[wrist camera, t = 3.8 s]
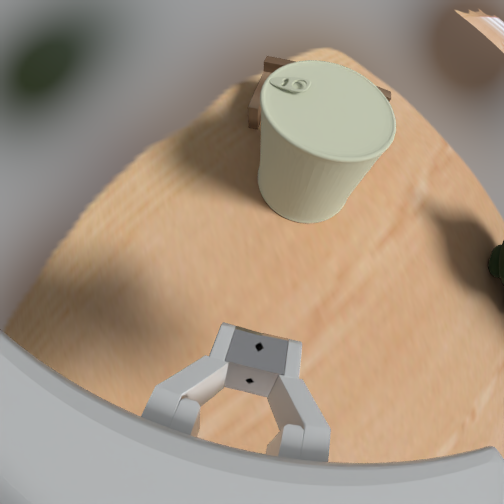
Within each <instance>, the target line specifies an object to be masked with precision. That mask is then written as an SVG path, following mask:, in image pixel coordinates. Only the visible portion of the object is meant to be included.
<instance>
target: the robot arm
mask: <svg viewBox="0 0 504 504" xmlns="http://www.w3.org/2000/svg"><path fill="white" fill-rule="evenodd" d="M301 352H302V342H300V341H295V340H291V339H287V338H283V337H278V336H274V335H269V334H265V333H259V332H256V331H252V330H249V329H245V328H242V327H238V326H235V325H231V324H228V323H224V322H223V323H222V325H221V326H220V329H219V332H218V334H217V337H216V339H215V342H214V345H213V347H212V350H211V353H210V355H209V356H206V355H205V356H203V357H202V358H200V359H199V360H197V361H196V362H194V363H192V364H191V365H189V366H188V367H186V368H184V369H183V370H181V371H180V372H178V373H176V374H175V375H173V376H171V377H170V378H168V379H166V380H165V381H163V382H161V383H160V384H158V385H156V386H155V388H154V390H153V393H152V395H151V397H150V399H149V401H148V403H147V405H146V407H145V409H144V411H143V413H142V416H141V417H140V416H138V415H136V414H134V413H131V412H129V411H127V410H125V409H123V408H121V407H118V406H116V405H114V404H112V403H110V402H108V401H106V400H104V399H102V398H101V397H99V396H97V395H95V394H93V393H91V392H89V391H88V390H86V389H84V388H82V387H81V386H79V385H77V384H76V383H74V382H72V381H71V380H69V379H67V378H66V377H64V376H63V375H61V374H59V373H58V372H56V371H55V370H53V369H52V368H50V367H49V366H47V365H46V364H44V363H43V362H42V361H40V360H39V359H37V358H36V357H35V356H33V355H32V354H31V353H29V352H28V351H27V350H25V349H24V348H23V347H21V346H20V345H19V344H17V343H16V342H15V341H14V340H13V339H11V338H10V337H9V336H8V335H6V334H5V333H4V332H3V331H2V330H1V329H0V504H504V459H503V457H502V456H501V454H500V453H499V452H498V450H497V449H496V448H495V447H493V446H488V447H484V448H480V449H476V450H472V451H468V452H463V453H459V454H454V455H448V456H443V457H436V458H430V459H422V460H413V461H402V462H387V463H338V462H328V456H329V445H330V432H331V429H330V427H329V425H328V423H327V422H326V420H325V418H324V416H323V415H322V413H321V411H320V409H319V408H318V406H317V404H316V402H315V401H314V399H313V397H312V395H311V393H310V392H309V390H308V388H307V386H306V385H305V383H304V381H303V379H299V372H300V363H301ZM224 387H227V388H231V389H236V390H240V391H244V392H248V393H252V394H256V395H260V396H264V397H268V398H267V399H268V402H269V404H270V407H271V410H272V412H273V415H274V417H275V420H276V422H277V425H278V428H279V430H280V432H279V433H278V434H277V435H276V436H275V437H274V438H273V440H272V441H271V442H270V443H269V444H268V445H267V450H266V454H262V453H256V452H251V451H247V450H242V449H238V448H234V447H229V446H226V445H222V444H218V443H214V442H211V441H207V440H204V439H201V438H197V435H198V432H199V429H200V407H201V406H202V405H203V404H205V403H206V402H207V401H208V400H210V399H211V398H212V397H213V396H214V395H216V394H217V393H218V392H219V391H221V390H222V389H223V388H224Z"/></svg>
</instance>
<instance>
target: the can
mask: <svg viewBox="0 0 504 504" xmlns="http://www.w3.org/2000/svg"><path fill="white" fill-rule="evenodd" d="M260 105H261V150H260V166H259V169H258V185H259V189H260V192H261V194H262V196H263V198H264V200H265V201H266V203H267V204H268V205H269V206H270V207H271V208H272V209H273V210H274V211H275V212H276V213H278V214H279V215H281V216H283V217H284V218H287V219H289V220H292V221H295V222H299V223H317V222H322V221H325V220H327V219H329V218H331V217H333V216H334V215H336V214H337V213H338V212H339V211H340V210H341V209H342V207H343V206H344V204H345V203H346V201H347V198H348V197H349V196H350V194H351V193H352V192H353V190H354V189H355V188H356V186H357V185H358V184H359V182H360V181H361V180H362V179H363V177H364V176H365V175H366V173H367V172H368V171H369V170H370V168H371V167H372V166H373V164H374V163H375V162H376V161H377V159H378V158H379V157H380V156H381V155H382V153H383V152H385V151H386V150H387V149H388V147H389V146H390V145H391V143H392V141H393V139H394V136H395V132H396V120H395V115H394V112H393V109H392V107H391V105H390V103H389V101H388V100H387V98H386V97H385V96H384V94H383V93H382V92H381V91H380V90H379V89H378V88H377V87H376V86H375V85H374V84H373V83H372V82H371V81H369V80H368V79H367V78H365V77H364V76H362V75H361V74H359V73H357V72H355V71H353V70H351V69H349V68H347V67H344V66H341V65H338V64H334V63H330V62H325V61H312V60H308V61H299V62H293V63H290V64H287V65H285V66H282V67H280V68H279V69H277V70H275V71H274V72H273V73H272V74H270V75H269V77H268V78H267V79H266V80H265V82H264V84H263V86H262V89H261V93H260Z"/></svg>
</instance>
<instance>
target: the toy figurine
mask: <svg viewBox="0 0 504 504" xmlns="http://www.w3.org/2000/svg"><path fill="white" fill-rule="evenodd" d="M488 268H489V271H490V273H491V274H492V275H493V276H494V277H498V278H499V277H500V278H501V280H502V283H503V285H504V241H503V243H502V245H498V246H496V247H495V248H494V249H493V251H492V254H491V257H490V260H489V266H488Z"/></svg>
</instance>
